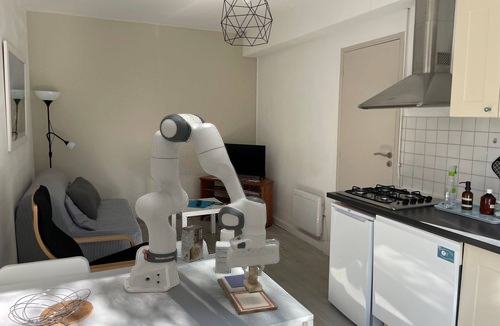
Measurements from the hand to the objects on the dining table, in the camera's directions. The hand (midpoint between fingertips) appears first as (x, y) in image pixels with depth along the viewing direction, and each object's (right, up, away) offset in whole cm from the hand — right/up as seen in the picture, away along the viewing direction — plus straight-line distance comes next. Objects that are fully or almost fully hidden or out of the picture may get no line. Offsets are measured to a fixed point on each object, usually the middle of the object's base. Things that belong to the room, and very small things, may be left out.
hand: (252, 276), depth 144 cm
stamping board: (-3, -10, +8) cm, 13 cm away
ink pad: (-5, -9, +15) cm, 18 cm away
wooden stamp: (0, -5, 0) cm, 5 cm away
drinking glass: (-13, -5, +44) cm, 46 cm away
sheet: (0, -10, +1) cm, 11 cm away
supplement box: (-13, -7, +32) cm, 35 cm away
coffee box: (-30, -5, +45) cm, 54 cm away
